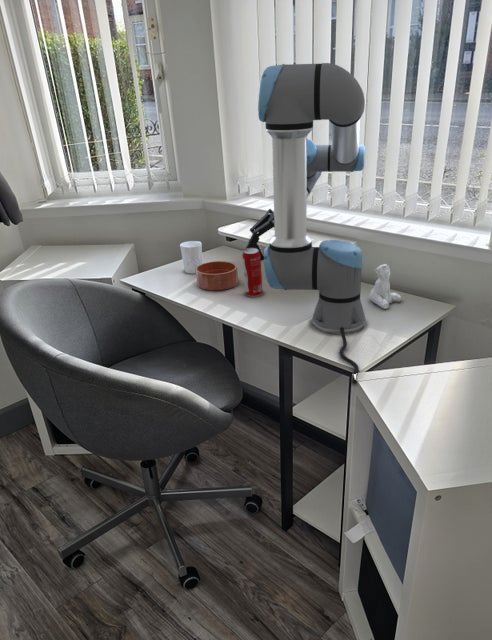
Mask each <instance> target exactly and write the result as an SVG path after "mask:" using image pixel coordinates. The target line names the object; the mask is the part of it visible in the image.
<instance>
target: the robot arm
mask: <svg viewBox="0 0 492 640" xmlns="http://www.w3.org/2000/svg"><path fill="white" fill-rule="evenodd" d="M258 89H259V90H258V99H257V112H258V113H257V115H258V120H259V121H260V122H262V123H265V131H266V132H267V134H268V135H269V136H270V137H271V142H272V143H271V145H272V179H273V180H272V181H273V182H272V183H273V210H272V209H271V208H269V209H267V211H266V213H265V214H264V215H263V216H262V217H261V218H260V219H259V220H258V221H257V222H255V224H253V225H252V226H251V228H250V229H249V232H251V236H250V238H249V240H248V242H247V245H246V247H245V249H247V248H256V247H257V245H258V243H259V241H260V237H262V236H263V235H264V234H265V233H267V232H269V231H270V230H272V229H273V228H274V235H273V236H272V237H271V238H270V239H269V242H268V243H269V245H267V246H265V247H264V250H263V269H264V273H265V279H266V282H267V283H268V286H269V287H270V288H272V289H276V290H284V291H287V290H289V291H290V290H292V291H293V290H294V291H295V290H296V291H299V290H301V291H318V300H317V303H316V305H315V308H314V311H313V314H312V320H311V322H312V323H311V324H312V327H313V328H314V329H316V330H317V331H319V332H322V333H324V334H328V335H329V334H331V335H340V336H341V339H342V346H341V348H340V350H339V357H340V358H341V359H342V360H343V361H345V363H346V362H347V363H348V364H350V365H351V366H352V367H353V368H354V370H353V373H352V375H353V374H356V373H358V374H359V371H360V368H359V366H358V364H357V362H356V361H354V360H352V359H351V358H349V357H347V356H346V354H345V353H344V352H345V351H346V348H347V346H348V341H347V338H346V335H349V334H354V333H357V332H360V331H361V330H362V329H364V328H365V326H366V315H365V312H364V308H363V304H362V300H361V292H362V291H361V290H362V269H363V267H364V263H363V251H362V249H361V247H359V246H358V245H357V244H355V243H353V242H350V241H346V240H340V239H324V240H322V241H321V242H320V244H318V246H313V239H312V238H311V237H310V236H309V235H308V233H307V214H308V213H307V210H308V209H307V206H308V205H307V202H308V201H307V200H308V198H309V196H310V195H311V192H312V191H313V189H314V187H315V185H316V183H317V182H318V181H319V179H320V177H322V176H321V175H322V173H323V172H324V173H325V172H326V173H327V172H332V173H333V172H334V173H335V172H345V173H347V172H349V173H353V172H361V171H363V170H364V169H365V159H366V158H365V156H366V154H365V153H366V146H365V144H360V127H361V126H360V125H361V124H360V123H361V118H362V117H363V115H364V112H365V102H366V101H365V100H366V99H365V93H364V91H363V88H362V87H361V84H360V83H359V81H358V80H357V79H356V78H355V77H354V75H353V74H351V72H349V71H348V70H347V69H345V68H344V67H342V66H340V65H338V64H335V63H329V62H321V63H292V64H291V63H290V64H285V63H282V64H276V65H270V66H267V67H265V69H264V70H263V72H262V75H261V77H260V83H259V88H258ZM323 120H324V121H326V120H328V121H329V123H330V131H331V144H315V142H314V141H313V140H311V139H309V138H308V135H309V134H310V133H311V132H312V131H313V130H314V121H323ZM357 383H358V380H357V381H356V380H354V378H353V377H352V384H353V385H354V384H355V385H356V384H357Z"/></svg>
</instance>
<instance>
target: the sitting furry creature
mask: <svg viewBox="0 0 492 640" xmlns="http://www.w3.org/2000/svg"><path fill="white" fill-rule="evenodd" d="M373 270H374V272H375V273H376V276H377V279H376V280H375V284H374V286H373V288H372V289H370V292H369V294H370V296H369V297H370V300H371V302H372V303H373V304H375V305H377V306H378V307H379V308H381V309H383V310H388V308H389V307H390V305H391V304H392V303H394V302H395V303H401V299H402V295H400V294H398V293H397V292H391V283H390V276H391V274H392V273H391V269H390V266H389V265H388V264H386V263H383V264H380V265H378V266H377V267H375V268H374V269H373Z"/></svg>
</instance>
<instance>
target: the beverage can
mask: <svg viewBox="0 0 492 640" xmlns="http://www.w3.org/2000/svg"><path fill="white" fill-rule="evenodd" d="M241 255H242V256H241V257H242V267H243V268H242V269H243V277H244V278H243V279H244V290H245V294H246V296H248V297H251V298H254V297H255V298H256V297H260V296H261V295H263V293H264V288H263V287H264V286H263V273H262V261H261V260H262V259H261V258H262V257H261V252H260V250H259V248H257V247H255V248H247V249H246V248H244V249H243V250H242V254H241Z"/></svg>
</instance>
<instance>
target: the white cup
mask: <svg viewBox="0 0 492 640" xmlns="http://www.w3.org/2000/svg"><path fill="white" fill-rule="evenodd" d="M179 249H180V253H181V254H180V255H181V260H182V264H183V270H184V272H185V273H186V274H196V267H197V266H199V265H201V264H203V263H204V262H203V261H204V260H203V244H202V242H201V241H197V240H187V241H183V242H182V243H180V244H179Z"/></svg>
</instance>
